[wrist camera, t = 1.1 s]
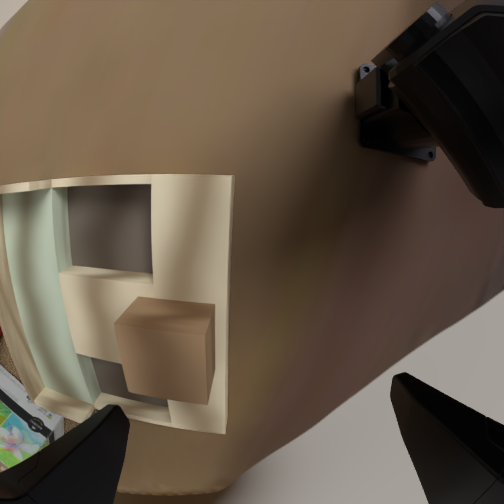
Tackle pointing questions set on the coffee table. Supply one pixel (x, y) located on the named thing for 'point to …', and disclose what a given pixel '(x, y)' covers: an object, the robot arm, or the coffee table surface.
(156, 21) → the coffee table surface
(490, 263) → the coffee table surface
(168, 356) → the walnut block
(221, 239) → the board
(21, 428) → the tea box
